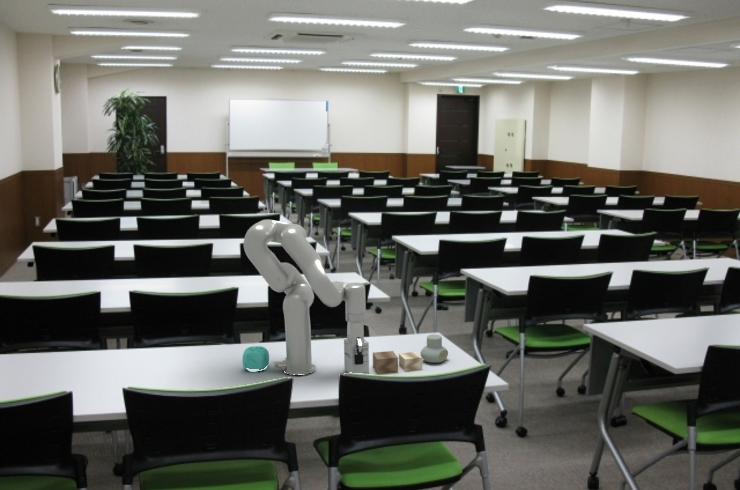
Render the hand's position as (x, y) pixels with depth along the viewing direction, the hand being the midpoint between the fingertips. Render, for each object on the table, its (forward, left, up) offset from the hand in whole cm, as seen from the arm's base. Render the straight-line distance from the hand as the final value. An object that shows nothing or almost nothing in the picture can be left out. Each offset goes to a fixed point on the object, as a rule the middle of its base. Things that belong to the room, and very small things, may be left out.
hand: (356, 359), depth 275 cm
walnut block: (+11, 0, -5) cm, 12 cm away
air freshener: (+32, +5, -5) cm, 33 cm away
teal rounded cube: (-37, +13, -5) cm, 40 cm away
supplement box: (0, 0, -5) cm, 5 cm away
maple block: (+21, 0, -5) cm, 22 cm away
